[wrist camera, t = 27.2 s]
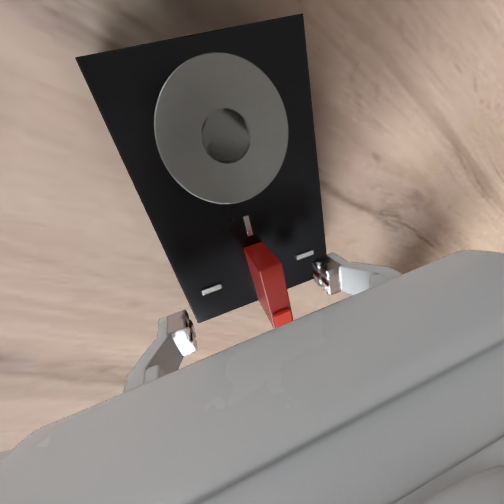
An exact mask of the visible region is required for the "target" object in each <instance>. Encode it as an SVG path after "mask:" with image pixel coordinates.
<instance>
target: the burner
mask: <svg viewBox="0 0 504 504" xmlns="http://www.w3.org/2000/svg"><path fill="white" fill-rule="evenodd" d="M154 133H155V139H156V144H157V148H158V151H159V154H160V156H161V159H162V161H163V163H164V165H165V167H166V168H167V170H168V171H169V173H170V174H171V176H172V177H173V178H174V179H175V181H176V182H177V183H178V184H179V185H180V186H181V187H183V188H184V189H185V190H186V191H188V192H189V193H191V194H192V195H194V196H196V197H198V198H200V199H202V200H205V201H208V202H211V203H217V204H234V203H239V202H243V201H246V200H248V199H251V198H252V197H254V196H256V195H258V194H259V193H260V192H262V191H263V190H264V189H265V188H266V187H267V186H269V184H270V183H271V182H272V181H273V180H274V178H275V177H276V175H277V174H278V172H279V170H280V168H281V166H282V164H283V161H284V158H285V155H286V151H287V145H288V120H287V115H286V111H285V108H284V104H283V101H282V99H281V97H280V95H279V93H278V91H277V89H276V88H275V86H274V84H273V83H272V82H271V80H270V79H269V78H268V77H267V76H266V75H265V74H264V73H263V71H262V70H261V69H259V68H258V67H257V66H255V65H254V64H253V63H251V62H249V61H248V60H246V59H244V58H242V57H239V56H236V55H233V54H229V53H222V52H212V53H204V54H201V55H198V56H195V57H193V58H191V59H189V60H187V61H185V62H184V63H183V64H181V65H180V66H178V67H177V68H176V69H175V70H174V71H173V72H172V73H171V75H170V76H169V77H168V79H167V80H166V82H165V83H164V85H163V87H162V89H161V91H160V94H159V97H158V100H157V103H156V108H155V113H154Z"/></svg>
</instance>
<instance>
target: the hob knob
mask: <svg viewBox="0 0 504 504" xmlns="http://www.w3.org/2000/svg"><path fill="white" fill-rule="evenodd" d="M244 252H245V255H246V259H247V262H248V266H249V269H250V273H251V276H252V280H253V283H254V287H255V290H256V294H257V298H258V300H259V302H260V303H261V305H262V307H263V309H264V311H265V313H266V315H267V316H268V318H269V320H270V322H271V324H272V326H273V327H274V328H277V327H280V326H282V325H284V324H287V323H289V322H292V321H293V316H292V311H291V306H290V302H289V297H288V292H287V287H286V282H285V277H284V272H283V267H282V263H281V262H280V261H279V260H278V259H277V258H276V256H275V255H274V254H273V253H272V252H271V251H270V250H269V249H268V248H267V247H266V245H265V244H264V243H263V242H259V243H256V244H254V245H251V246H248V247H245V248H244Z"/></svg>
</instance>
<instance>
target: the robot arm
mask: <svg viewBox="0 0 504 504" xmlns="http://www.w3.org/2000/svg"><path fill="white" fill-rule="evenodd" d="M311 264H312V267H313V268H314V271H313V277H314V280H315V282H316V283H317V284H318V285H319V286H321V287H323V290H324V291H325V292H326V293H327V294H328V295H329V296H330V295H333V294H335V293H338V292H340V291H342V292H344V293H347V294H350V295H353V296H350V297H348V298H346V299H343V300H341V301H339V302H336V303H334V304H332V305H329V306H327V307H324V308H322V309H320V310H317V311H315V312H313V313H310V314H308V315H306V316H303V317H301V318H299V319H296V320H294V321H292V322H289V323H287V324H284V325H282V326H280V327H277V328H275V329H273V330H270V331H268V332H266V333H263V334H261V335H259V336H256V337H254V338H251V339H249V340H247V341H244V342H242V343H240V344H237V345H235V346H233V347H230V348H228V349H226V350H223V351H221V352H218V353H216V354H214V355H211V356H209V357H207V358H204V359H202V360H200V361H197V362H195V363H193V364H190V365H188V366H185V367H183V368H181V369H178V368H179V366H180V364H181V361H182V359H183V357H185V356H187V355H189V354H191V353H194V352H196V351H198V350H197V342H196V340H195V337H196V333H195V329H194V326H193V323H192V321H191V320H189V316H188V313H187V311H186V310H183V311H180V312H177V313H174V314H172V315H169V316H166V317H163V318H161V319H159V321H158V332H157V339H156V340H154V341H153V343H152V344H151V345H150V346H149V348H148V349H147V350H146V352H145V353H144V354H143V356H142V357H141V358H140V359H139V361H138V362H137V363H136V365H135V366H134V367H133V369H132V370H131V371H130V372H129V374H128V375H127V377H126V381H125V386H124V391H123V393H122V394H120V395H117V396H115V397H113V398H110V399H108V400H105V401H103V402H101V403H98V404H96V405H94V406H91V407H89V408H87V409H84V410H82V411H80V412H77V413H75V414H72V415H70V416H68V417H65V418H63V419H61V420H58V421H56V422H53V423H51V424H48V425H46V426H43V427H41V428H39V429H37V430H35V431H34V432H32V433H31V434H29V435H28V436H27V437H26V438H25V439H24V440H23V441H21V442H20V443H19V444H18V445H17V446H16V447H15V448H14V449H13V450H12V451H11V452H10V453H9V454H8V455H7V456H6V457H5V458H4V459H3V460H2V461H1V462H0V504H504V253H500V252H491V251H480V250H460V251H456V252H454V253H452V254H449V255H447V256H444V257H442V258H440V259H437V260H435V261H433V262H430V263H428V264H426V265H423V266H421V267H419V268H416V269H414V270H412V271H409V272H407V273H405V274H402V273H400V272H398V271H397V270H395V269H393V268H391V267H386V266H379V265H372V264H365V263H357V262H348V261H347V260H345V259H344V258H342V257H340V256H339V255H337V254H336V253H333V252H332V253H330V254H328V255H326V256H323V257H321V258H318V259H316V260H313V261H312V263H311Z"/></svg>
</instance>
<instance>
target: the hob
mask: <svg viewBox="0 0 504 504" xmlns="http://www.w3.org/2000/svg"><path fill="white" fill-rule="evenodd" d="M212 52H222V53H229V54H233V55H236V56H239V57H242V58H244V59H246V60H248V61H249V62H251V63H253V64H254V65H255V66H257V67H258V68H259V69H261V70H262V71H263V73H264V74H265V75H266V76H267V77H268V78H269V79H270V80H271V82H272V83H273V84H274V86H275V88H276V89H277V91H278V93H279V95H280V97H281V99H282V101H283V104H284V108H285V111H286V115H287V120H288V145H287V151H286V155H285V158H284V161H283V164H282V166H281V168H280V170H279V172H278V174H277V175H276V177H275V178H274V180H273V181H272V182H271V183H270V184H269V186H267V187H266V188H265V189H264V190H263V191H262V192H260V193H259V194H258V195H256V196H254V197H252V198H251V199H248V200H246V201H243V202H239V203H234V204H217V203H211V202H208V201H205V200H202V199H200V198H198V197H196V196H194V195H192V194H191V193H189V192H188V191H186V190H185V189H184V188H183V187H181V186H180V185H179V184H178V183H177V182H176V181H175V179H174V178H173V177H172V176H171V174H170V173H169V171H168V170H167V168H166V167H165V165H164V163H163V161H162V159H161V156H160V154H159V151H158V148H157V144H156V139H155V133H154V113H155V108H156V103H157V100H158V97H159V94H160V91H161V89H162V87H163V85H164V83H165V82H166V80H167V79H168V77H169V76H170V75H171V73H172V72H173V71H174V70H175V69H176V68H177V67H178V66H180V65H181V64H183V63H184V62H185V61H187V60H189V59H191V58H193V57H195V56H198V55H201V54H204V53H212ZM76 61H77V63H78V65H79V67H80V70H81V72H82V74H83V76H84V78H85V80H86V82H87V85H88V87H89V89H90V91H91V93H92V95H93V98H94V100H95V102H96V104H97V106H98V108H99V111H100V113H101V115H102V117H103V119H104V121H105V123H106V126H107V128H108V130H109V132H110V134H111V136H112V139H113V141H114V143H115V145H116V147H117V149H118V151H119V154H120V156H121V158H122V160H123V162H124V164H125V167H126V169H127V171H128V173H129V175H130V177H131V180H132V182H133V184H134V186H135V188H136V190H137V192H138V195H139V197H140V199H141V201H142V203H143V205H144V208H145V210H146V212H147V214H148V216H149V218H150V220H151V223H152V225H153V227H154V229H155V231H156V233H157V236H158V238H159V240H160V242H161V244H162V246H163V249H164V251H165V253H166V255H167V257H168V259H169V261H170V264H171V266H172V268H173V270H174V272H175V274H176V277H177V279H178V281H179V283H180V285H181V287H182V290H183V292H184V294H185V296H186V298H187V300H188V302H189V305H190V307H191V309H192V311H193V313H194V315H195V318H196V320H197V322H198V323H201V322H203V321H206V320H208V319H211V318H213V317H216V316H219V315H221V314H224V313H226V312H229V311H231V310H234V309H237V308H239V307H242V306H244V305H247V304H249V303H252V302H255V301H257V300H258V298H257V294H256V290H255V287H254V283H253V280H252V276H251V273H250V269H249V266H248V262H247V259H246V255H245V252H244V248H245V247H248V246H251V245H254V244H256V243H259V242H263V243H264V244H265V245H266V247H267V248H268V249H269V250H270V251H271V252H272V253H273V254H274V255H275V256H276V258H277V259H278V260H279V261H280V262H281V263H282V267H283V272H284V277H285V282H286V287H287V289H288V288H291V287H293V286H296V285H298V284H301V283H304V282H306V281H309V280H311V279H314V277H313V271H314V268H313V267H312V264H311V263H312V261H313V260H316V259H318V258H321V257H323V256H326V244H325V234H324V224H323V214H322V204H321V193H320V183H319V173H318V163H317V153H316V142H315V132H314V122H313V112H312V102H311V91H310V81H309V71H308V61H307V51H306V40H305V30H304V20H303V14H297V15H292V16H287V17H282V18H277V19H272V20H266V21H261V22H256V23H251V24H246V25H241V26H235V27H230V28H225V29H220V30H215V31H210V32H204V33H199V34H194V35H189V36H184V37H179V38H173V39H168V40H163V41H158V42H153V43H148V44H142V45H137V46H132V47H127V48H122V49H117V50H111V51H106V52H101V53H96V54H91V55H86V56H80V57H76Z"/></svg>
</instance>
